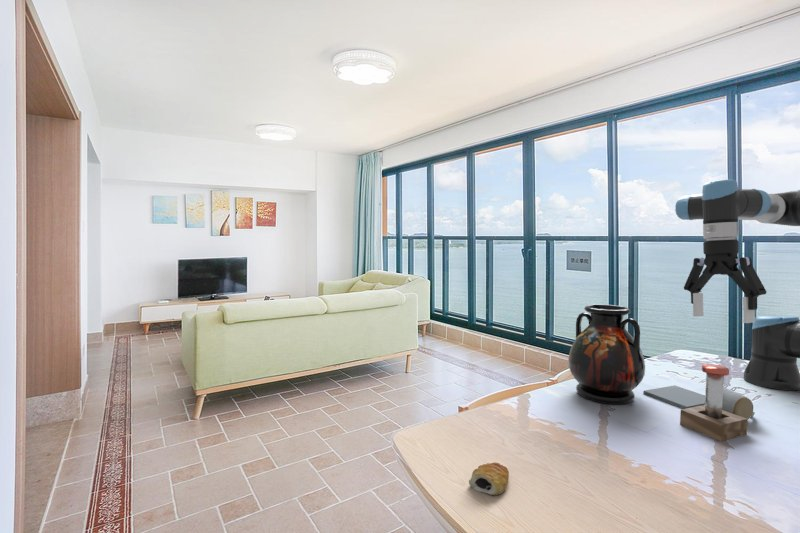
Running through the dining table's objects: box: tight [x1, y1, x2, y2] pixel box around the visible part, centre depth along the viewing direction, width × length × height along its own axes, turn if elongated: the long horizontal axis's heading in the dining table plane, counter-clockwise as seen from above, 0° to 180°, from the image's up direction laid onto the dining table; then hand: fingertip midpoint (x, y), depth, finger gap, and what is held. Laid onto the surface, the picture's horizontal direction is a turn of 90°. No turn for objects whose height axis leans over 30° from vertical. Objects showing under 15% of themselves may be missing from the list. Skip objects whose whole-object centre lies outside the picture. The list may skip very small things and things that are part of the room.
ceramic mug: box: [722, 386, 756, 420], centre depth 117 cm, size 11×8×8 cm
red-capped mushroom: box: [701, 363, 730, 419], centre depth 109 cm, size 6×6×16 cm
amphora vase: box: [567, 304, 646, 405], centre depth 132 cm, size 22×22×28 cm
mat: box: [643, 385, 705, 409], centre depth 131 cm, size 14×14×1 cm
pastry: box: [468, 462, 510, 496], centre depth 85 cm, size 9×7×4 cm
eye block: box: [679, 405, 749, 442], centre depth 109 cm, size 10×10×4 cm
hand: (722, 319), depth 113 cm, fingers open, 13 cm apart
